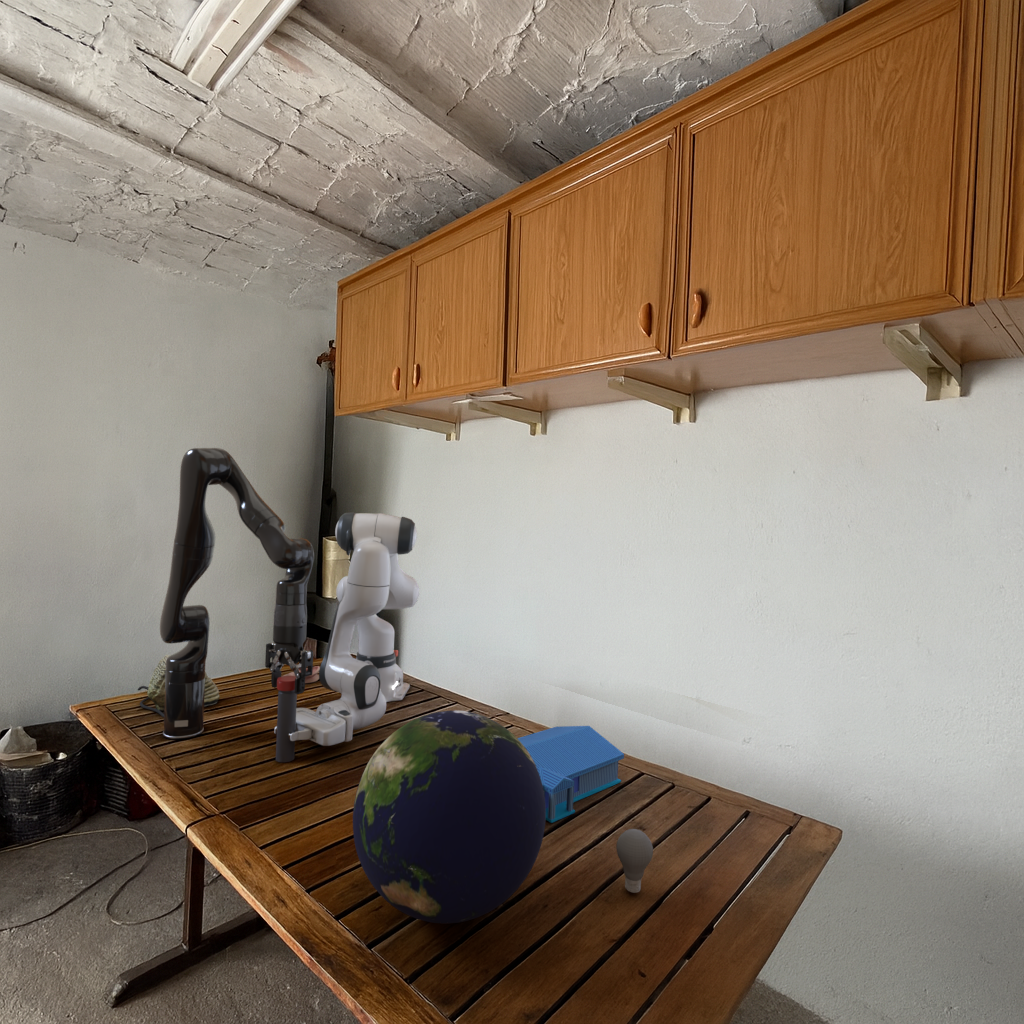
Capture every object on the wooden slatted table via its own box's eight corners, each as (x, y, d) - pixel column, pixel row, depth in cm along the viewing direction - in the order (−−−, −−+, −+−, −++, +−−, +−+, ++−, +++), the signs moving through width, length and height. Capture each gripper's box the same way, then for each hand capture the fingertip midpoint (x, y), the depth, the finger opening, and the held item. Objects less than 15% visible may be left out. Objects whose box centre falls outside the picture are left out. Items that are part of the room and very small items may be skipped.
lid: (302, 686, 154) (302, 676, 154) (292, 691, 149) (292, 682, 149) (283, 684, 154) (284, 674, 154) (272, 690, 150) (273, 680, 150)
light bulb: (610, 879, 108) (613, 822, 108) (644, 879, 109) (647, 822, 109) (619, 902, 102) (622, 840, 102) (655, 901, 103) (658, 840, 103)
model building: (505, 843, 118) (507, 790, 118) (429, 794, 136) (431, 748, 136) (632, 786, 145) (634, 743, 144) (555, 752, 163) (557, 713, 163)
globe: (306, 934, 92) (314, 729, 91) (413, 836, 119) (420, 678, 119) (495, 1005, 80) (505, 771, 80) (565, 878, 108) (573, 704, 108)
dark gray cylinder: (297, 756, 154) (300, 680, 153) (289, 763, 149) (292, 685, 149) (281, 754, 154) (284, 679, 154) (272, 761, 150) (275, 684, 150)
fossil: (144, 707, 182) (145, 655, 182) (212, 696, 194) (213, 647, 194) (151, 716, 175) (153, 662, 175) (221, 703, 188) (223, 653, 188)
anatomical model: (271, 670, 211) (289, 662, 222) (270, 682, 211) (289, 673, 222) (307, 674, 208) (324, 665, 220) (306, 686, 208) (324, 677, 220)
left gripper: (257, 620, 152) (254, 688, 152) (298, 628, 144) (295, 699, 145) (282, 615, 158) (280, 681, 158) (323, 623, 151) (320, 692, 151)
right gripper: (306, 698, 168) (258, 710, 157) (356, 716, 156) (308, 731, 145) (306, 722, 168) (258, 736, 157) (355, 742, 156) (307, 759, 145)
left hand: (287, 689), depth 152 cm, fingers open, 7 cm apart
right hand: (282, 734), depth 151 cm, fingers closed on dark gray cylinder, 4 cm apart
